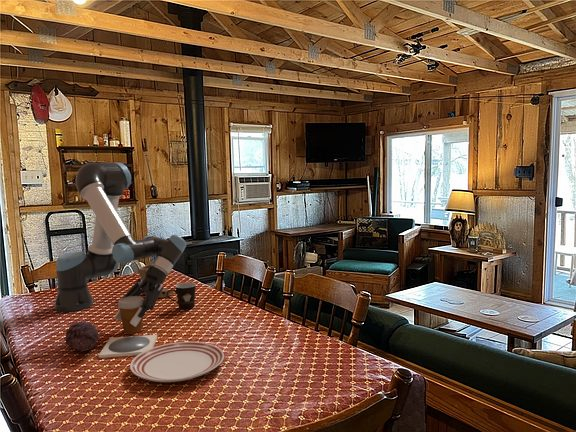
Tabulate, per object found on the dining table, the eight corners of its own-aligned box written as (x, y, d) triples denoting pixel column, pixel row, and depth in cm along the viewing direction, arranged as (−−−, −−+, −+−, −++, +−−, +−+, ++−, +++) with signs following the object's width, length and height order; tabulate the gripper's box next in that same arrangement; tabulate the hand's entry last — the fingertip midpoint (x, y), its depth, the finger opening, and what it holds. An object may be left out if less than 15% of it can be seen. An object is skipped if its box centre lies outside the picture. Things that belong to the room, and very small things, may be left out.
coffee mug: (199, 304, 189) (198, 282, 188) (193, 311, 180) (192, 288, 179) (173, 304, 190) (172, 282, 189) (166, 310, 182) (165, 287, 180)
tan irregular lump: (135, 295, 205) (134, 264, 203) (158, 289, 213) (157, 260, 212) (151, 301, 194) (149, 269, 193) (174, 295, 203) (173, 264, 201)
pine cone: (105, 356, 138) (103, 326, 137) (71, 365, 132) (69, 333, 131) (93, 339, 152) (91, 311, 151) (62, 346, 146) (60, 318, 145)
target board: (98, 358, 137) (98, 354, 137) (110, 340, 151) (110, 337, 150) (150, 354, 139) (150, 350, 139) (157, 337, 153) (157, 334, 153)
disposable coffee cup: (151, 327, 162) (150, 296, 161) (135, 337, 153) (133, 304, 152) (131, 324, 165) (129, 294, 164) (113, 334, 156) (111, 302, 155)
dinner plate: (149, 349, 144) (149, 339, 143) (231, 348, 143) (230, 339, 143) (114, 391, 117) (113, 379, 116) (214, 391, 116) (214, 380, 115)
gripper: (183, 280, 163) (149, 333, 152) (148, 272, 176) (114, 320, 165) (171, 269, 158) (135, 323, 147) (135, 261, 171) (101, 311, 160)
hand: (124, 322), depth 156 cm, fingers closed on disposable coffee cup, 9 cm apart
